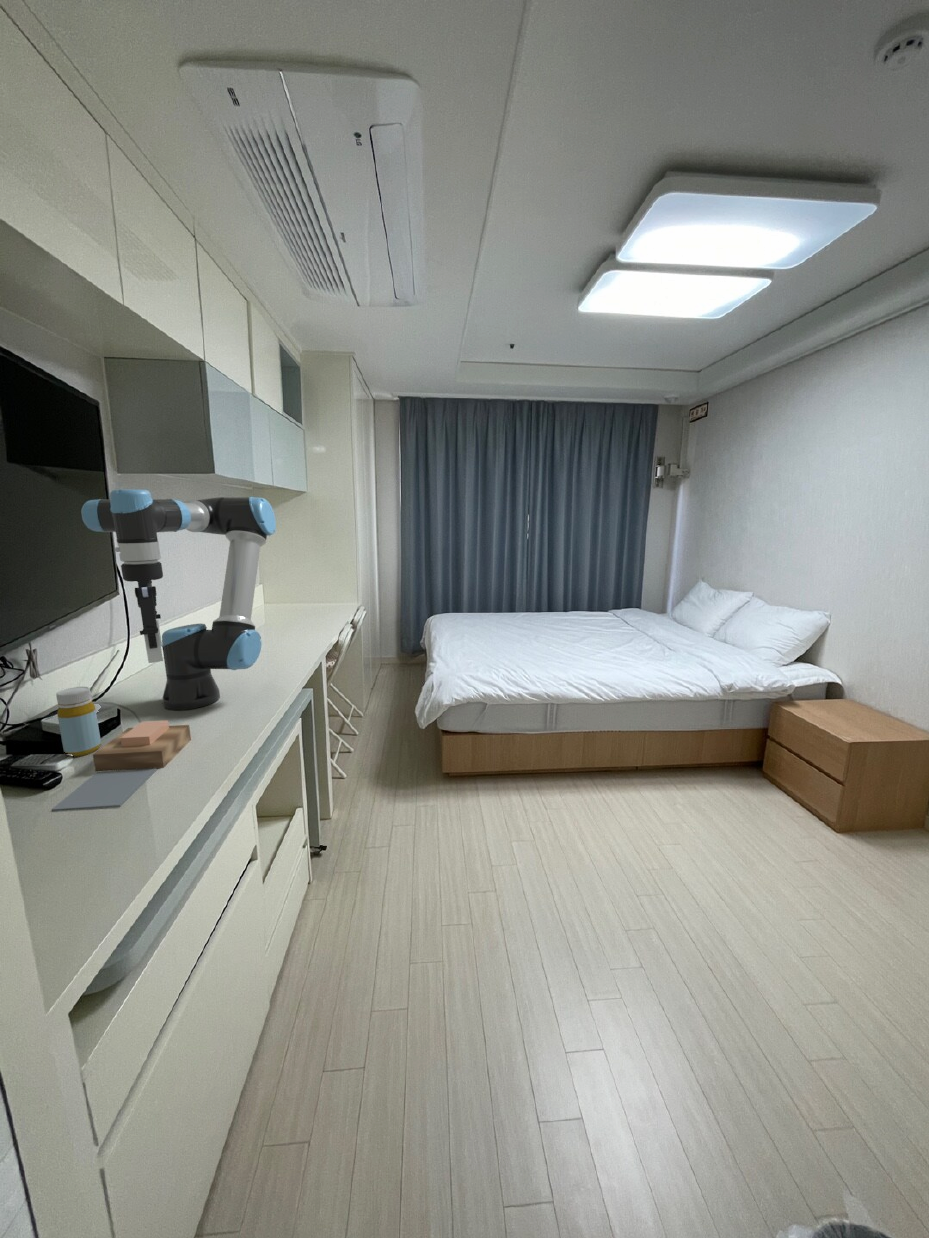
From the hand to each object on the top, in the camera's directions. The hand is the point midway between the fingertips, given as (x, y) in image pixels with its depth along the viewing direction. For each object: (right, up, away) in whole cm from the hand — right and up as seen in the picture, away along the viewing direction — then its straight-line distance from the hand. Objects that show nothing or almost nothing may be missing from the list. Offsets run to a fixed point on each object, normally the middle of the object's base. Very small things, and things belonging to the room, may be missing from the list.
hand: (155, 653), depth 112 cm
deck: (-3, -24, +2) cm, 24 cm away
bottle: (-20, -23, +4) cm, 31 cm away
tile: (-3, -20, +2) cm, 20 cm away
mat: (-1, -27, -13) cm, 30 cm away
